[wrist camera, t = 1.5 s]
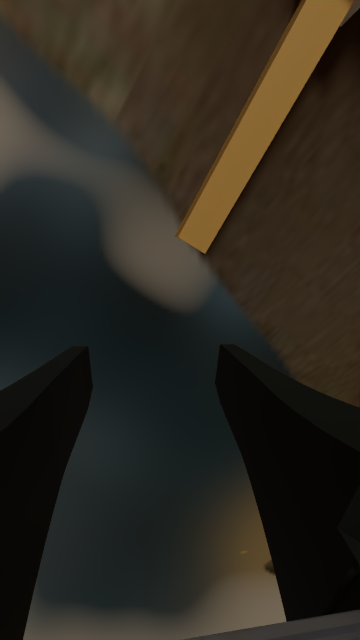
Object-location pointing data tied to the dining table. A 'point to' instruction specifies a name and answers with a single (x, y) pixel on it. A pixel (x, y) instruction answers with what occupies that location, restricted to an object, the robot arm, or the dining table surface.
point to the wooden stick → (263, 115)
